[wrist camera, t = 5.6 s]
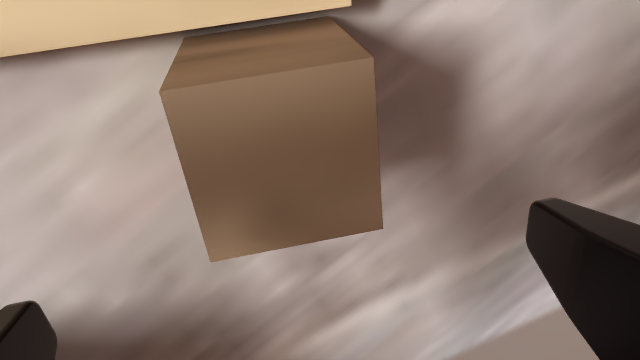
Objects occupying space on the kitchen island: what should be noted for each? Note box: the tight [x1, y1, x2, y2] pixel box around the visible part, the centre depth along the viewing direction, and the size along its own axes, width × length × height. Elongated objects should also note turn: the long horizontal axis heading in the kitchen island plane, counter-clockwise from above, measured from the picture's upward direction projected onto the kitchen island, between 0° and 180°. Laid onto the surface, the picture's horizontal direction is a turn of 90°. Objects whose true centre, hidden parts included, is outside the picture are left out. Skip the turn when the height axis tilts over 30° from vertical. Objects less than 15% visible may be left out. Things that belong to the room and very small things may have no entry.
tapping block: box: [159, 16, 383, 262], centre depth 14 cm, size 5×5×6 cm
